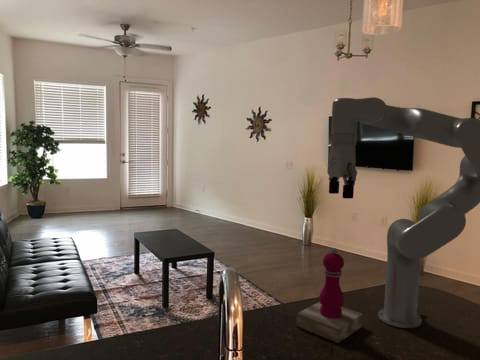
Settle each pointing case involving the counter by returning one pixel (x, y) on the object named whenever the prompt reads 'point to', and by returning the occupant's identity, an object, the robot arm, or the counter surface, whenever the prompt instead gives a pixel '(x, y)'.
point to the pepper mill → (332, 286)
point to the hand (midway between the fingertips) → (340, 195)
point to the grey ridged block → (329, 323)
